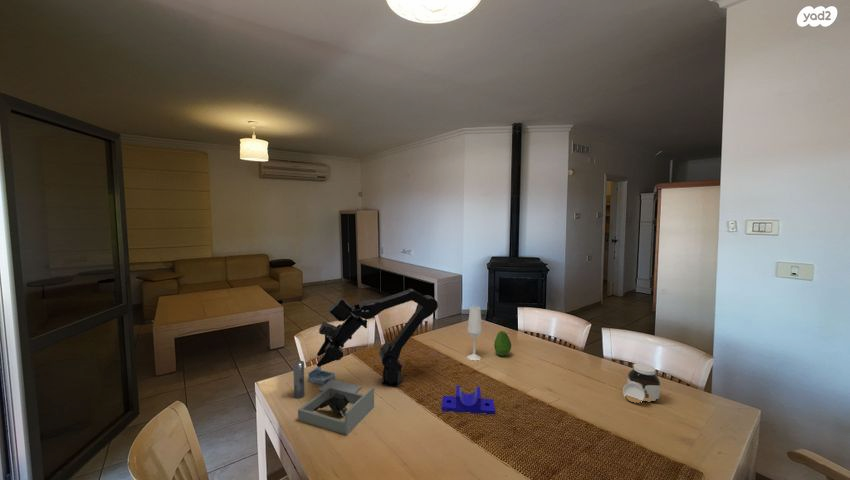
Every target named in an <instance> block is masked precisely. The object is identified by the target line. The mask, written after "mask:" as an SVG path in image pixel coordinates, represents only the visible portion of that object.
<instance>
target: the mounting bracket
mask: <svg viewBox="0 0 850 480" xmlns="http://www.w3.org/2000/svg"><path fill="white" fill-rule="evenodd" d="M441 401H442V402H441V412H448V411H454V412H453V413H460V412H471V413H470V414H473V413H486V414H495V415H496V407H495V402H494V399H493V398H482V393H481V387H480V386H476V388H475V391H473V392H472V393H465V392H463V391H462V389H461V386H460V385H458V384H457V385H456V389H455V396H453V395H442V400H441ZM486 414H485V415H486Z"/></svg>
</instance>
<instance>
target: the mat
mask: <svg viewBox="0 0 850 480" xmlns="http://www.w3.org/2000/svg"><path fill="white" fill-rule="evenodd" d="M329 386H331V387H335V388H339V389H343V390H347V391H351V392H355V393H359V392H358V391H360V390H361V389H362V385H357V384H353V383H348V382H344V381H341V380H335V379H331V380H330V381H329V382H327V383H326V384H325V385H321V386H320V387H318V389H317V391H318V392H323V391H324V390H325V389H326V388H328V387H329Z"/></svg>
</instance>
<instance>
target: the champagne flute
mask: <svg viewBox="0 0 850 480" xmlns="http://www.w3.org/2000/svg"><path fill="white" fill-rule="evenodd" d="M482 328H483V327H482V311H481V307H480V306H477V305H476V306H475V305H474V306H470V307H469V315H468V322H467V333H468V335H469V336H470V337H471V338H473V340H472V354H469V355H467V356H466V359H467V358H468V359H467V360H469V359H470V360H469V361H471V360H475V361H474V362H477V361H476V360H479V361H481V360H482V357H481V356H479V355H478V354H477V353H476V344H477V343H476V339H477V338H478V337H480V335H481V334H482V333H483V329H482ZM480 359H481V360H480Z"/></svg>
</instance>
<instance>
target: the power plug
mask: <svg viewBox="0 0 850 480" xmlns="http://www.w3.org/2000/svg"><path fill="white" fill-rule="evenodd" d="M349 403H350V402H349V401H348V400H347V398H346V397H345V395H341V394H338V393H335V394H334V395H332V396H330V397H329V398H328V399H326V400H325V401H324V402H322V403H321V404H320V405H319V406H318V407H317V408H315V409H314V411H313V412H315V411H317V410H319V409H323V408H326V407H328V406H329V408H330V410H332V412H333V414H334V415H336V414H338V413H340V414H341V416H342V418H345V412H346V411H347V410H348V408H347V406H348V404H349ZM343 410H344V411H345V412H343Z"/></svg>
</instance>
